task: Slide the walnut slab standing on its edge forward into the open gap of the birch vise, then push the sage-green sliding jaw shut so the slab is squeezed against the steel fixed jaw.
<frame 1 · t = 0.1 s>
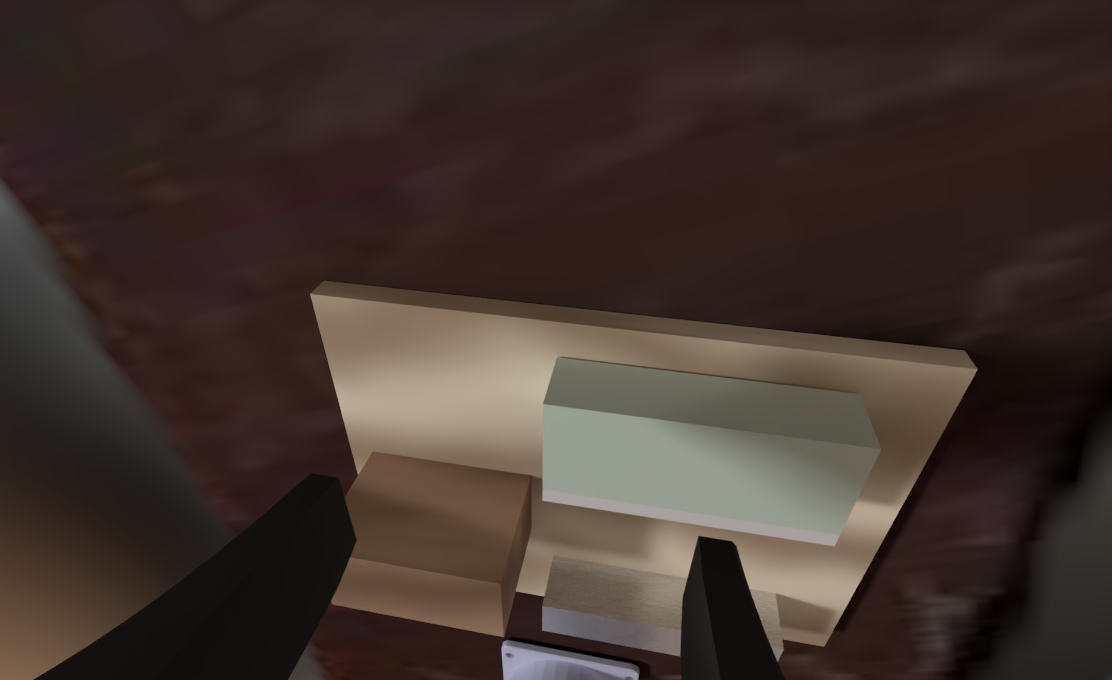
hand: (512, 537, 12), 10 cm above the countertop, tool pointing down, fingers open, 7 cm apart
fixed jaw: (659, 567, 28), resting on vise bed
block: (453, 490, 25), point 1 cm above the countertop, touching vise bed
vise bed: (604, 476, 25), on the countertop
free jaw: (693, 450, 20), point 2 cm above the countertop, slide at 3.7 cm
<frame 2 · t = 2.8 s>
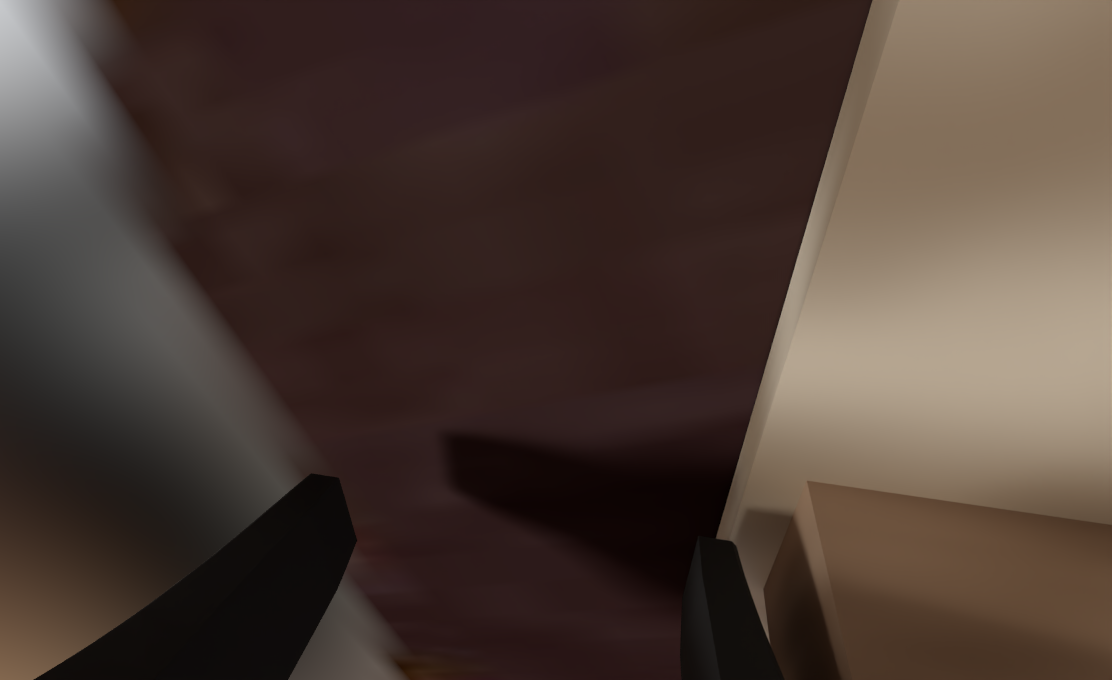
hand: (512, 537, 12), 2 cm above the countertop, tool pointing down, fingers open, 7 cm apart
block: (971, 569, 11), point 1 cm above the countertop, touching gripper, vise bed
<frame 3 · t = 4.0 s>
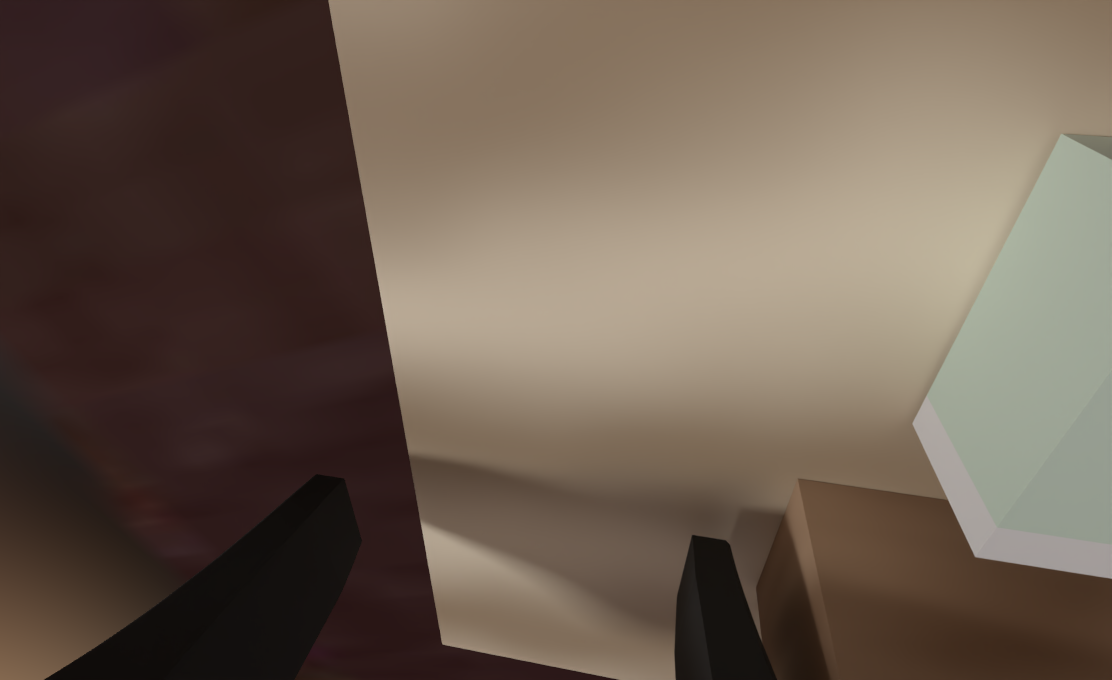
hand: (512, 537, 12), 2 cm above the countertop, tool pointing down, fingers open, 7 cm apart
block: (962, 567, 11), point 1 cm above the countertop, touching gripper
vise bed: (959, 484, 11), on the countertop
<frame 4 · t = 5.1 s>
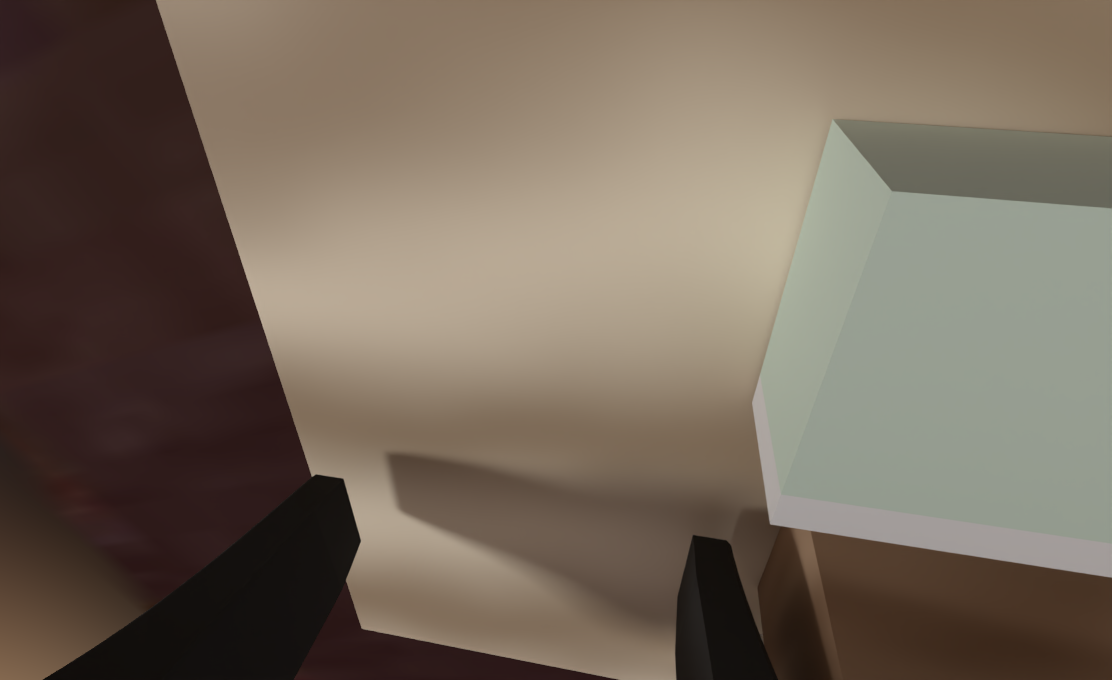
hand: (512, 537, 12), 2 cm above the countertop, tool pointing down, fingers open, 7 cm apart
block: (964, 567, 11), point 1 cm above the countertop, touching gripper, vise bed
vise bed: (824, 464, 12), on the countertop
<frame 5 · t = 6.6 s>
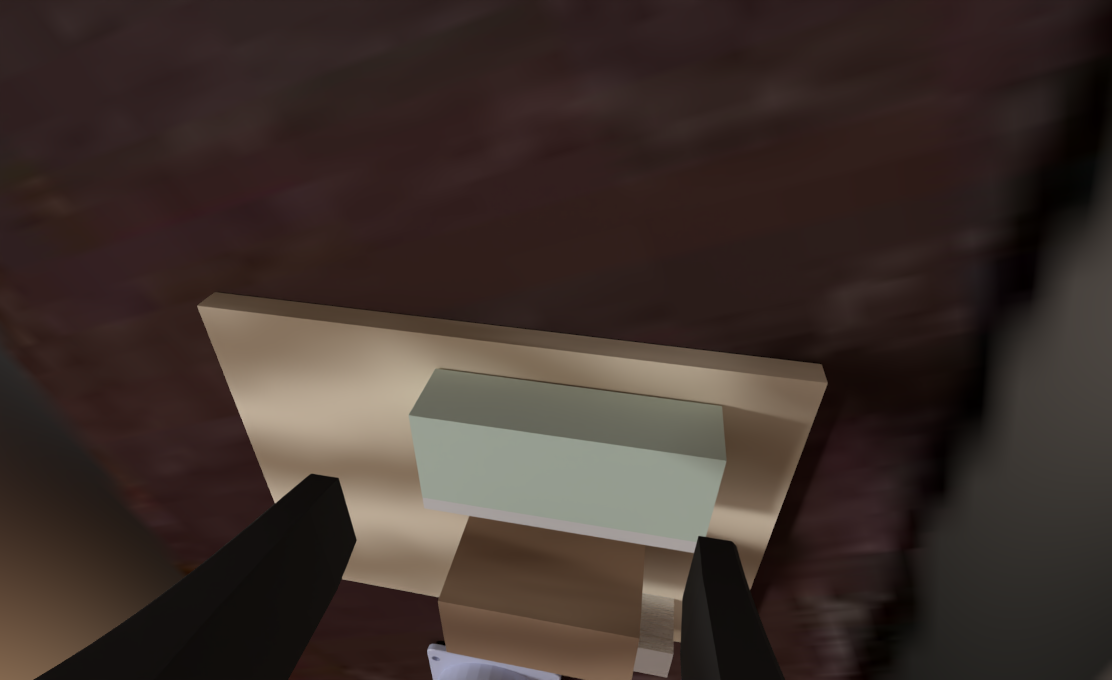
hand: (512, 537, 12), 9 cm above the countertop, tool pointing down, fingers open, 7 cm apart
fixed jaw: (567, 572, 28), resting on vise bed
block: (560, 530, 25), point 1 cm above the countertop, touching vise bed
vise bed: (503, 483, 25), on the countertop
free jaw: (565, 459, 20), point 2 cm above the countertop, slide at 3.7 cm
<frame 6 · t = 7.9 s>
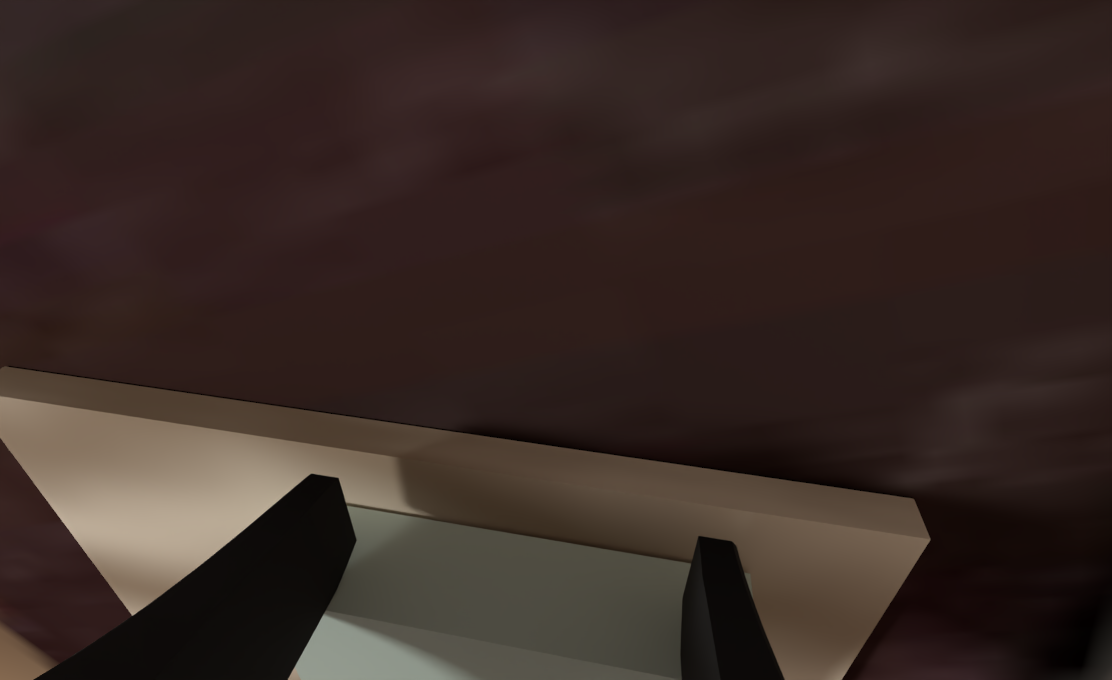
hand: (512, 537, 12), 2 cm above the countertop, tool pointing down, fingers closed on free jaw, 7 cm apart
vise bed: (442, 617, 18), on the countertop
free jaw: (514, 641, 13), point 2 cm above the countertop, slide at 3.2 cm, touching gripper
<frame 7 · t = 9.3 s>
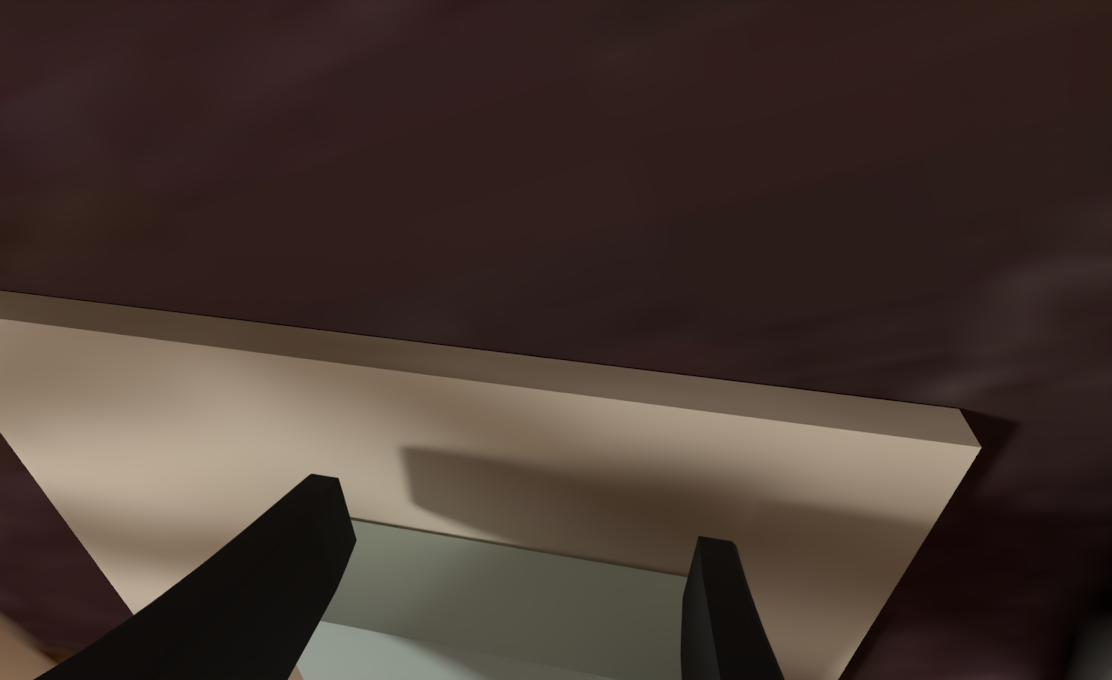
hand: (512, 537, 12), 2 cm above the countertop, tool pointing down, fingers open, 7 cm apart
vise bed: (434, 570, 17), on the countertop
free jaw: (515, 652, 14), point 2 cm above the countertop, slide at 0.2 cm
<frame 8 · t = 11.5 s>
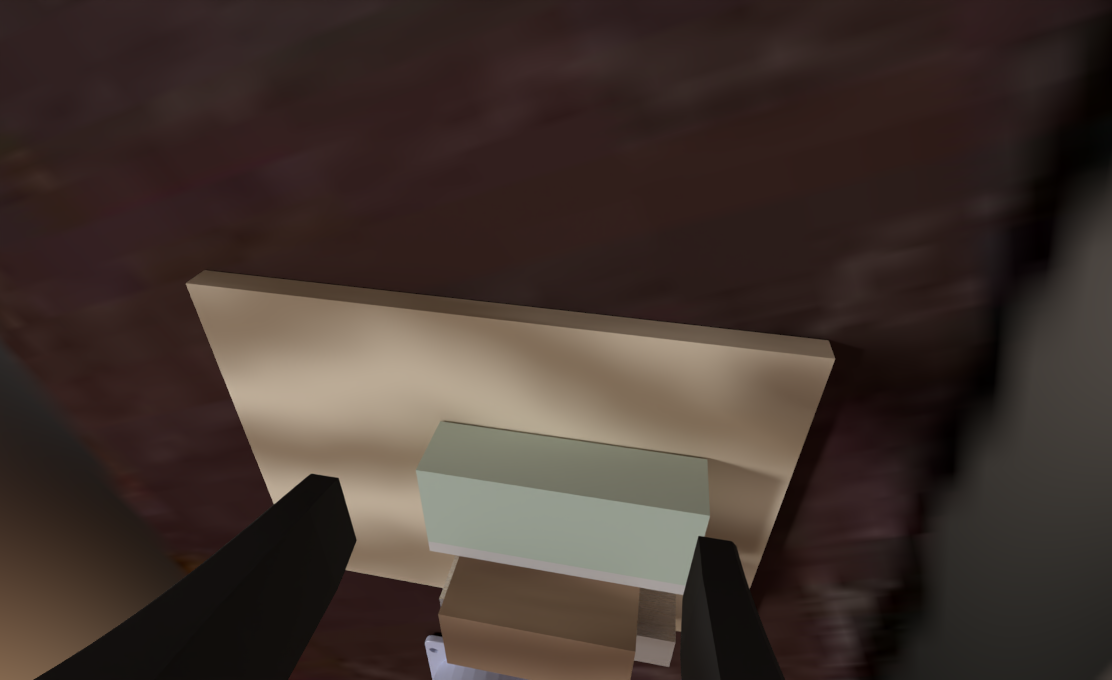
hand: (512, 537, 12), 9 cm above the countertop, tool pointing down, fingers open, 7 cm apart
fixed jaw: (567, 561, 27), resting on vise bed
block: (558, 542, 25), point 1 cm above the countertop, touching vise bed
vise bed: (501, 468, 25), on the countertop
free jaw: (562, 507, 22), point 2 cm above the countertop, slide at 0.2 cm
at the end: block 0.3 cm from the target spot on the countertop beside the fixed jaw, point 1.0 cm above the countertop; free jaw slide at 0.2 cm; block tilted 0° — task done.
